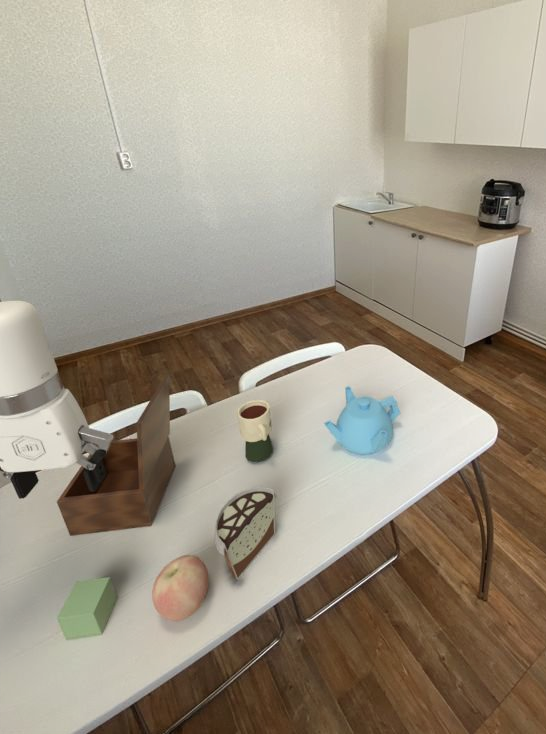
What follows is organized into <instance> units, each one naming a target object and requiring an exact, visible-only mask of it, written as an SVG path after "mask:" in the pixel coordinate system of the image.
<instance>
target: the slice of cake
mask: <svg viewBox="0 0 546 734" xmlns="http://www.w3.org/2000/svg"><path fill="white" fill-rule="evenodd" d="M275 498H278V495H277V492H276V491H275V490H273V489H272V488H268V487H262V486H259V487H251V488H247V489H244V490H242V491H240V492H238V493H236V494H235V495H234V496H232V497H231V498H229V500H228V501H227V502H226V503H225V504H224V505H223V506H222V508H221V510H220V511H219V513H218V516H217V518H216V521H215V525H214V534H213V535H214V537H213V539H214V540H213V541H214V545H215V547H216V549H217V551H218V552H219V554H221V556H222V557H224V558H225V561H226V563H227V566H228V569H229V572H230V574H231V575H232V578H234V579H235V580H236V581H238V580H239V579H240V578H241V577H242V576H243V575H244V573H245V572H246V571H247V570H248V569H249V568H250V566H251V565H252V563H253V562H254V561H255V560H256V559H257V557H258V556H259V555H260V554H261V552H262V551H263V550H264V549H265V548H266V546H268V544H269V543H270V541H271V540H272V539H273V538H274V537H275V536H276V503H275V502H276V501H275V500H276V499H275Z"/></svg>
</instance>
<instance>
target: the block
mask: <svg viewBox="0 0 546 734" xmlns="http://www.w3.org/2000/svg"><path fill="white" fill-rule="evenodd" d="M117 599H118V596H117V593H116V590H115V587H114V585H113V583H112V580H111V577H110V576H108V577H100V578H94V579H88V580H87V579H86V580H79V581H78V580H77V581H75V583H74V585H73V586H72V588H71V590H70V593H69V594H68V596H67V598H66V600H65V601H64V604H63V606H62V608H61V609H60V612H59V613H58V614H57V617H56V621H57V623H58V626H59V628H60V629H61V631H62V633H63V636H64V637H65V638H64V639H65V640H73V639H80V638H87V637H93V636H99V635H102V634H103V633H104V630H105V628H106V625H107V623H108V620H109V619H110V616H111V613H112V612H113V609H114V606H115V603H116V601H117Z"/></svg>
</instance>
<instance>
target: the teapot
mask: <svg viewBox="0 0 546 734" xmlns="http://www.w3.org/2000/svg"><path fill="white" fill-rule="evenodd" d="M345 402H346V403H345V406H344V408H343V409H341V412H340V414H339V416H338V418H337V421H336V424H335V423H334V422H333V421H331V420H330V419H328V420H327V421H324V422H323V424H324V426H325V427H326V429H327V430H328V431H329V432H330V433H331V435H332V436H333V437H334V438H335V439H336V441H337V442H338V443H339V444H340V445H341V446H342V447H343V448H344V449H346V450H347V451H349V452H350V453H353V454H355V455H362V456H365V455H372V454H376V453H377V452H380V451H381V450H383V449H384V448H385V447H387V445H388V444H389V443H390V442H391V440H392V439H393V432H394V430H393V429H394V428H393V422H394V421H395V420H396V419H397V418H398V417H399V416H400V415H401V410H400V407H399V406H398V405H399V404H398V403H397V400H396V398H395V397H394V396H393V395H391V396H388V397H386V398H384V399H382V400H379V401H378V400H377V399H376V398H374V397H370V396H359V397H358V396H357V397H356V396H355V394H354V392H353V389H352V387H351V386H349V385H348V386H345ZM387 408H390V409H389V410H387Z"/></svg>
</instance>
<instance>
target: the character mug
mask: <svg viewBox="0 0 546 734" xmlns="http://www.w3.org/2000/svg"><path fill="white" fill-rule="evenodd" d="M236 413H237V415H236V416H237V420H238V427H239V433H240V438H241V439H242V440H243V441H245V443H244V444H245V447H244V450H245V451H244V452H245V454H244V455H245V458H246V460H247V461H248V462H251V463H260V462H263V461H266V460H268V459H269V458H271V456H272V454H273V453H274V447H273V443H272V439H271V436H270V433H271V432H272V429H273V423H272V413H271V407H270V404H269V402H268V401H266V400H264V399H252V400H248V401H245V402H244V403H242V404H241V405H240V406H239V407H238V409H237V412H236Z"/></svg>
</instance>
